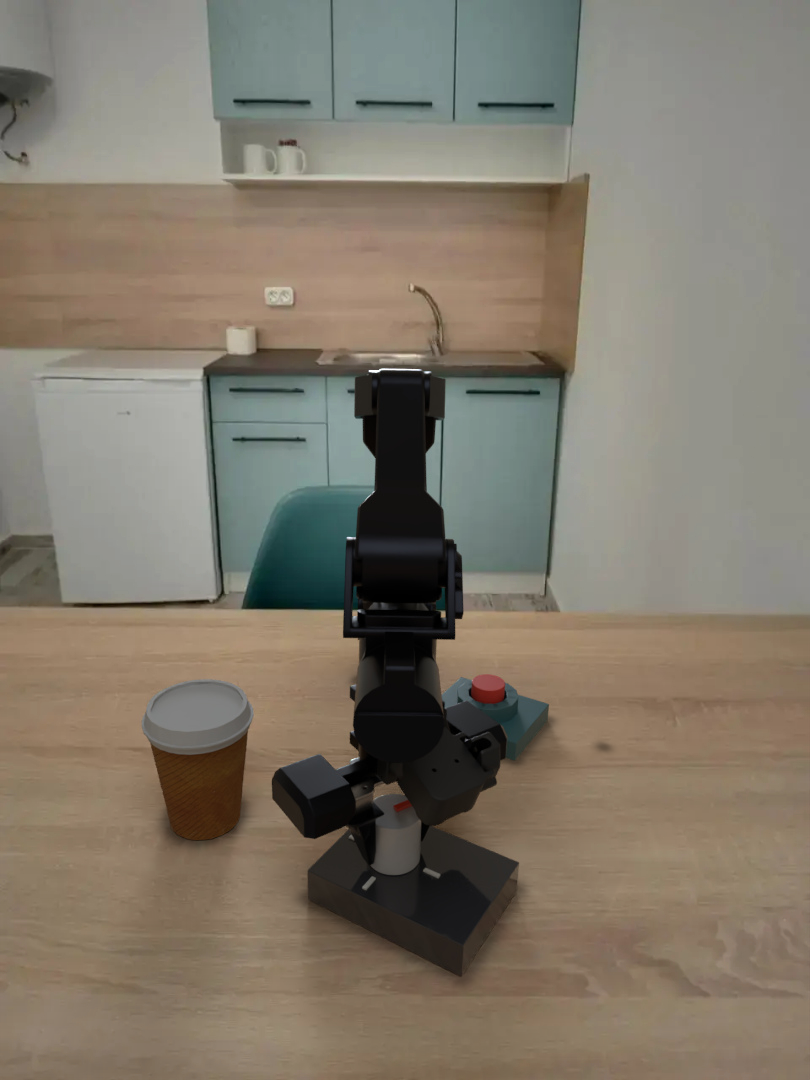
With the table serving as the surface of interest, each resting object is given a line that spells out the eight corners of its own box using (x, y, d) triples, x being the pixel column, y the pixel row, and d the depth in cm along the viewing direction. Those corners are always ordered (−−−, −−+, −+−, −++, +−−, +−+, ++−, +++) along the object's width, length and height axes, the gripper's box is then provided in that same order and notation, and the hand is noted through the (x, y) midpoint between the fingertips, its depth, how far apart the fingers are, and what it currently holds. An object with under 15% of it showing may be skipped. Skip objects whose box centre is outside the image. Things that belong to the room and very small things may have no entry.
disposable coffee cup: (164, 866, 70) (153, 746, 66) (142, 801, 78) (130, 690, 74) (272, 833, 74) (267, 718, 70) (240, 774, 82) (235, 668, 78)
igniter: (422, 728, 91) (423, 696, 89) (460, 693, 98) (461, 663, 97) (514, 761, 85) (517, 728, 84) (547, 721, 93) (550, 689, 91)
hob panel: (307, 899, 67) (306, 868, 66) (374, 829, 75) (375, 800, 74) (461, 977, 60) (463, 944, 59) (516, 891, 68) (519, 860, 67)
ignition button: (465, 698, 90) (466, 684, 89) (480, 684, 93) (480, 670, 92) (495, 708, 88) (496, 694, 87) (509, 693, 91) (510, 679, 90)
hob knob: (384, 883, 65) (385, 833, 63) (356, 849, 68) (356, 801, 67) (430, 862, 67) (432, 813, 65) (401, 831, 71) (402, 783, 69)
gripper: (344, 780, 51) (344, 972, 56) (563, 695, 61) (545, 865, 66) (265, 699, 59) (272, 872, 65) (468, 636, 69) (459, 791, 75)
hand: (392, 850), depth 68 cm, fingers closed on hob knob, 4 cm apart
